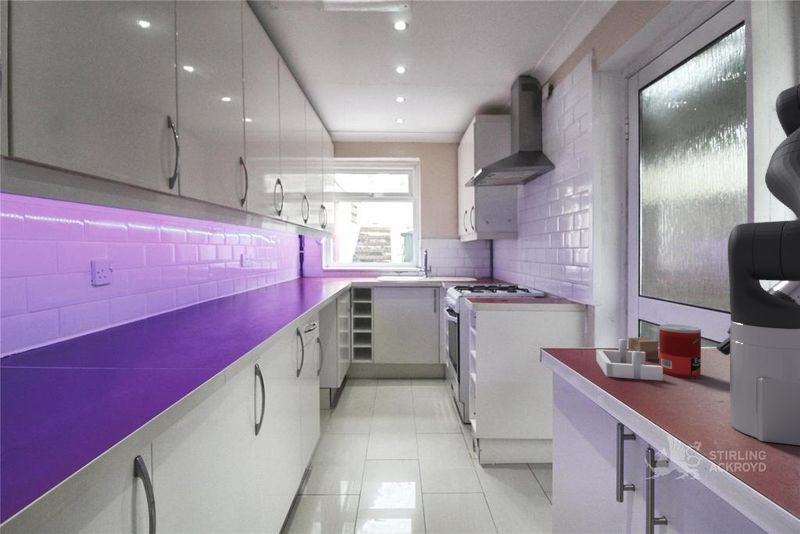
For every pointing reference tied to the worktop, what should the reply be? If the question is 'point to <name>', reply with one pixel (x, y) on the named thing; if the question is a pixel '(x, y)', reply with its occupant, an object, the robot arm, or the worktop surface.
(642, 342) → the walnut block
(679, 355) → the canned food
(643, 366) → the tray
